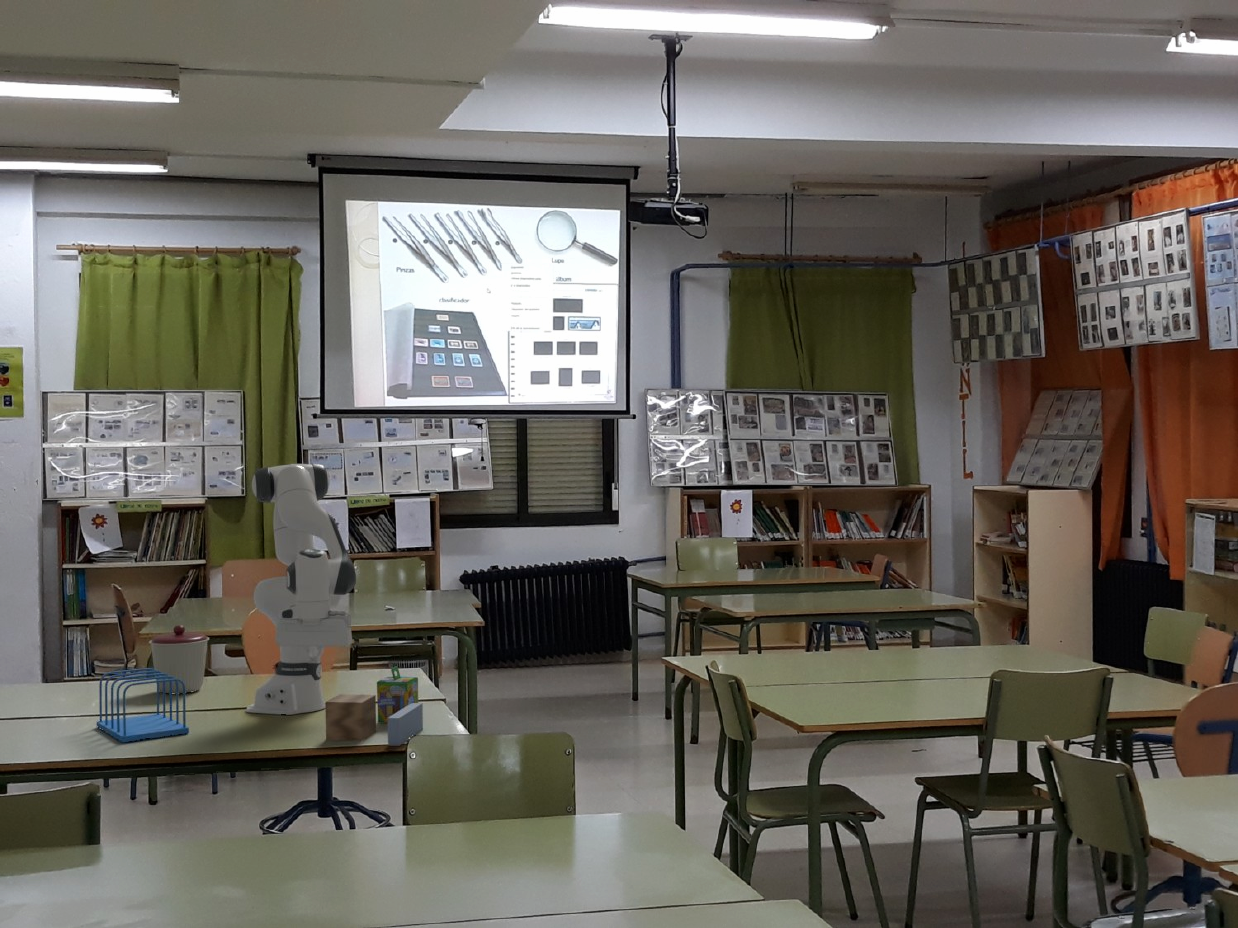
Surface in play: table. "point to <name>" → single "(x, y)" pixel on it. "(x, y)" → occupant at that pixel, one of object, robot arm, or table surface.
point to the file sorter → (145, 724)
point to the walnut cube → (350, 717)
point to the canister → (180, 658)
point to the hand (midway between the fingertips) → (314, 662)
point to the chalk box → (395, 694)
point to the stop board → (405, 724)
